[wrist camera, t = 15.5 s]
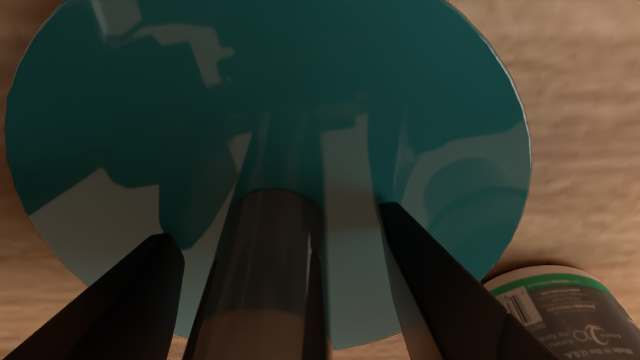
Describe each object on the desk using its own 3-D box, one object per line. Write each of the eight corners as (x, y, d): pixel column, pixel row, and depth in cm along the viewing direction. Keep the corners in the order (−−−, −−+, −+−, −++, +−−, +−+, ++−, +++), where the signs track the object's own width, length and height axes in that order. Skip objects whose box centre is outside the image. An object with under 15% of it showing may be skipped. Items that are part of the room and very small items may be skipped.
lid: (486, 304, 12) (587, 537, 7) (167, 338, 13) (87, 558, 9) (557, -141, 5) (1791, -457, 1) (-97, 3, 7) (-1034, 192, 2)
